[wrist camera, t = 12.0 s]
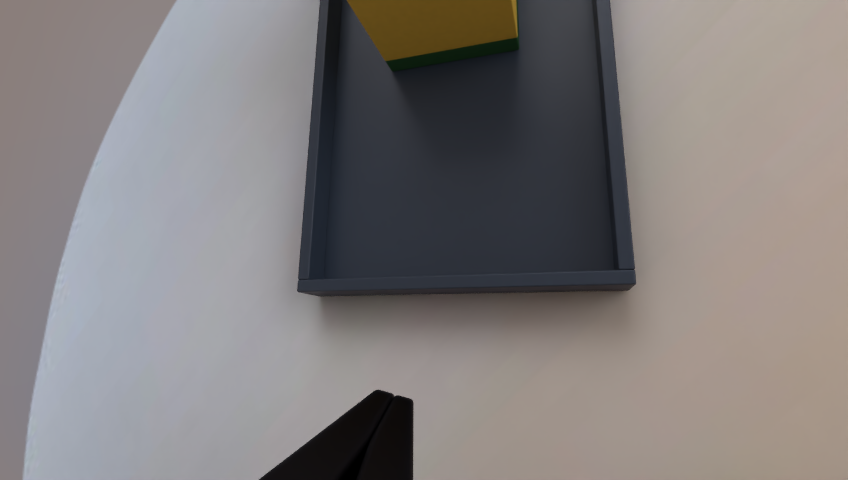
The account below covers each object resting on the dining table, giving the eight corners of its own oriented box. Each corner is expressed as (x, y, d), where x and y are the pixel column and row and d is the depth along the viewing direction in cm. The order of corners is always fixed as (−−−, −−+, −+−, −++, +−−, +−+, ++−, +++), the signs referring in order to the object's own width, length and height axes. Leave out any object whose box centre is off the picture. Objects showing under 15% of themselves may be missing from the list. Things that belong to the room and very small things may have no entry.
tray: (629, 290, 19) (636, 284, 17) (318, 296, 24) (296, 291, 22) (589, -158, 25) (591, -201, 23) (344, -87, 30) (328, -117, 28)
